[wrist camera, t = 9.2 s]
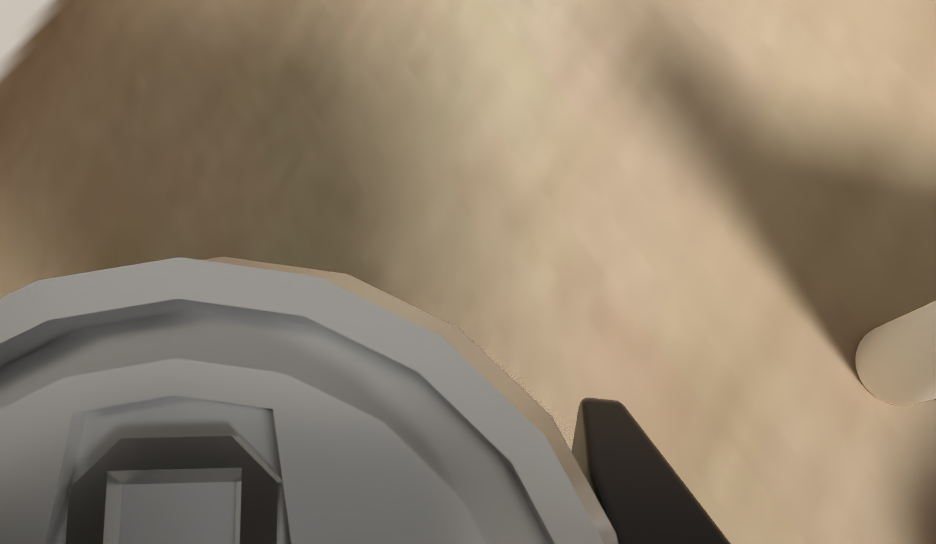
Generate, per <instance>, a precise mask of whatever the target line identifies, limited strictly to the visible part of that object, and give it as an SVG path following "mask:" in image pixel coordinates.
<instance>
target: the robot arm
mask: <svg viewBox="0 0 936 544" xmlns="http://www.w3.org/2000/svg"><path fill="white" fill-rule="evenodd" d="M572 454H573V456H574V458H575V459H576V461H577V463H578V465H579V467H580V469H581V470H582V472H583V474H584V476H585V478H586V479H587V481H588V483H589V485H590V487H591V489H592V490H593V492H594V494H595V496H596V498H597V500H598V501H599V503H600V505H601V507H602V509H603V510H604V512H605V514H606V516H607V518H608V520H609V521H610V523H611V525H612V527H613V529H614V531H615V532H616V536H617V541H618V544H730V542H729V541H728V540H727V538H726V537H725V536H724V534H723V533H722V532H721V531H720V529H719V528H718V527H717V525H716V524H715V523H714V521H713V520H712V519H711V518H710V516H709V515H708V514H707V512H706V511H705V510H704V509H703V507H702V506H701V505H700V503H699V502H698V501H697V499H696V498H695V497H694V496H693V494H692V493H691V492H690V490H689V489H688V488H687V487H686V485H685V484H684V483H683V481H682V480H681V479H680V477H679V476H678V475H677V474H676V472H675V471H674V470H673V468H672V467H671V466H670V465H669V463H668V462H667V461H666V459H665V458H664V457H663V455H662V454H661V453H660V452H659V450H658V449H657V448H656V446H655V445H654V444H653V443H652V441H651V440H650V439H649V437H648V436H647V435H646V433H645V432H644V431H643V430H642V428H641V427H640V426H639V424H638V423H637V422H636V421H635V419H634V418H633V417H632V415H631V414H630V413H629V411H628V410H627V409H626V408H625V406H624V405H623V404H622V403H620V402H619V401H615V400H606V399H596V398H584V399H583V400H582V401H581V402H580V405H579V409H578V415H577V421H576V428H575V434H574V440H573V446H572Z"/></svg>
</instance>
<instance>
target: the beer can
mask: <svg viewBox="0 0 936 544" xmlns="http://www.w3.org/2000/svg"><path fill="white" fill-rule="evenodd" d="M0 544H618V541H617V536H616V532H615V531H614V529H613V527H612V525H611V523H610V521H609V520H608V518H607V516H606V514H605V512H604V510H603V509H602V507H601V505H600V503H599V501H598V500H597V498H596V496H595V494H594V492H593V490H592V489H591V487H590V485H589V483H588V481H587V479H586V478H585V476H584V474H583V472H582V470H581V469H580V467H579V465H578V463H577V461H576V459H575V458H574V456H573V454H572V452H571V450H570V448H569V447H568V445H567V443H566V441H565V439H564V437H563V436H562V434H561V432H560V430H559V428H558V427H557V425H556V423H555V421H554V419H553V417H552V416H551V415H550V414H549V413H548V412H547V411H546V410H545V409H544V408H543V407H542V406H540V405H539V404H538V403H537V402H536V401H535V400H534V399H533V398H532V397H531V396H530V395H529V394H528V393H527V392H526V391H525V390H524V389H523V388H522V387H521V386H520V385H519V384H517V383H516V382H515V381H514V380H513V379H512V378H511V377H510V376H509V375H508V374H507V373H506V372H505V371H504V370H503V369H502V368H501V367H500V366H499V365H498V364H497V363H496V362H494V361H493V360H492V359H491V358H490V357H489V356H488V355H487V354H486V353H485V352H484V351H483V350H482V349H481V348H480V347H479V346H478V345H477V344H476V343H475V342H474V341H473V340H472V339H470V338H469V337H468V336H467V335H466V334H465V333H464V332H463V331H462V330H461V329H460V328H458V327H456V326H454V325H452V324H450V323H448V322H446V321H444V320H442V319H439V318H437V317H435V316H433V315H431V314H429V313H427V312H425V311H423V310H421V309H419V308H417V307H415V306H413V305H411V304H409V303H406V302H404V301H402V300H400V299H398V298H396V297H394V296H392V295H390V294H388V293H386V292H384V291H382V290H380V289H378V288H375V287H373V286H371V285H369V284H367V283H365V282H363V281H361V280H359V279H357V278H355V277H353V276H351V275H349V274H344V273H337V272H330V271H323V270H316V269H309V268H302V267H295V266H288V265H281V264H274V263H266V262H259V261H252V260H245V259H238V258H231V257H224V256H223V257H216V258H210V259H204V260H197V259H190V258H183V257H177V258H171V259H165V260H159V261H152V262H146V263H140V264H134V265H128V266H122V267H116V268H110V269H103V270H97V271H91V272H85V273H79V274H73V275H67V276H61V277H54V278H48V279H42V280H37V281H35V282H33V283H31V284H28V285H26V286H24V287H22V288H20V289H18V290H16V291H14V292H12V293H10V294H8V295H6V296H4V297H2V298H0Z"/></svg>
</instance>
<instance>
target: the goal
mask: <svg viewBox="0 0 936 544" xmlns="http://www.w3.org/2000/svg"><path fill="white" fill-rule="evenodd" d="M855 364H856V370H857V373H858V376H859V378H860V380H861V382H862V384H863V385H864V386H865V388H866V389H867V390H868V391H869V392H870V393H871V394H872V395H873V396H875V397H876V398H878V399H879V400H881V401H883V402H886V403H888V404H892V405H898V406H906V405H912V404H916V403H920V402H924V401H929V400H933V399H934V400H936V301H934V302H931V303H929V304H927V305H925V306H923V307H920V308H918V309H916V310H914V311H912V312H909V313H907V314H905V315H903V316H901V317H898V318H896V319H894V320H892V321H890V322H887V323H885V324H883V325H881V326H879V327H876V328H874V329H872V330H871V331H869V332H868V333H867V334H866V335H865V336H864V337H863V338H862V340H861V341H860V343H859V345H858V347H857V351H856V356H855Z"/></svg>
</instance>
